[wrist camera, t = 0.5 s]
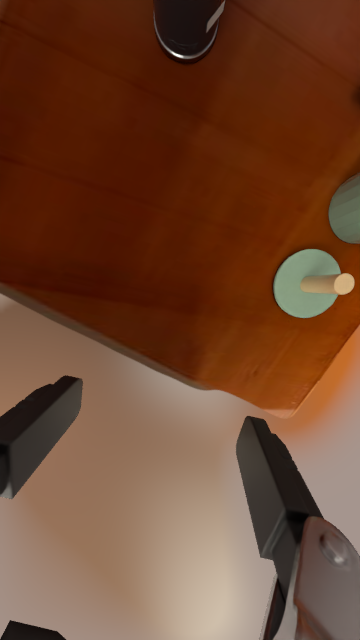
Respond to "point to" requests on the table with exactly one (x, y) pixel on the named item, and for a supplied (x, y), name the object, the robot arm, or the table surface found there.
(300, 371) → the table surface
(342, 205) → the canister
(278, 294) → the lid
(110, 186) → the table surface
